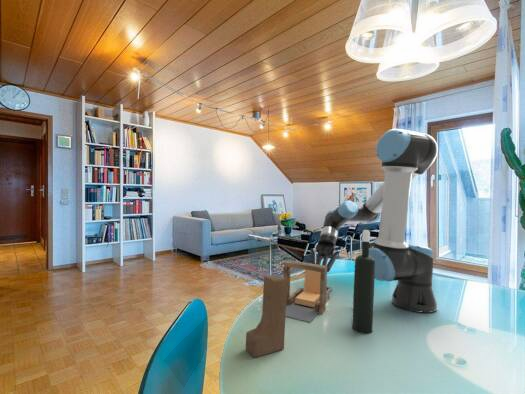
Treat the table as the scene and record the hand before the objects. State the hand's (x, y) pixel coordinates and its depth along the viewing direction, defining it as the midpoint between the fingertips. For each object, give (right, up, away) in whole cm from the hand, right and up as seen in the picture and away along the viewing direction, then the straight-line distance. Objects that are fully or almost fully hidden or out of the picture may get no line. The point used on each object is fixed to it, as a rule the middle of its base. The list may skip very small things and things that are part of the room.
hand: (315, 284), depth 115 cm
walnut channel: (-4, -4, -8) cm, 10 cm away
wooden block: (-21, -3, -43) cm, 48 cm away
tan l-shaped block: (-4, -4, -7) cm, 9 cm away
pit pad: (+3, -5, +6) cm, 8 cm away
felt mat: (-9, -4, -18) cm, 21 cm away
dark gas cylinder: (+8, -5, -29) cm, 31 cm away
